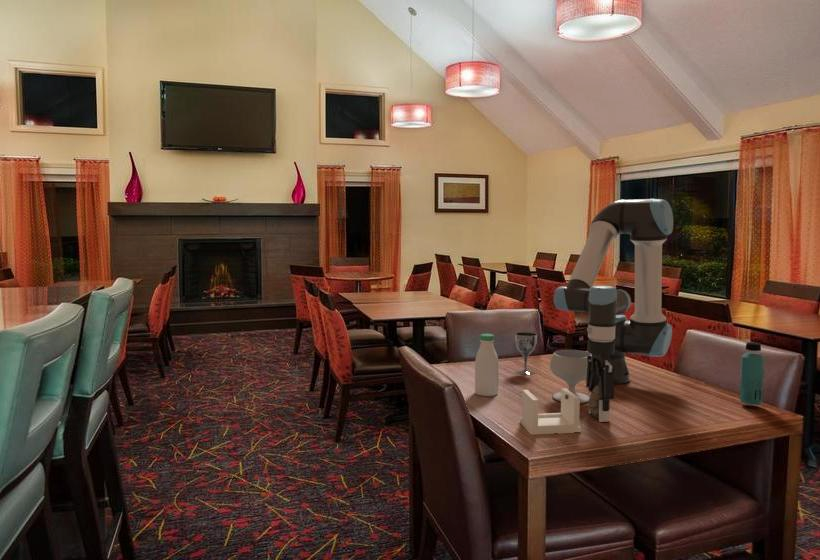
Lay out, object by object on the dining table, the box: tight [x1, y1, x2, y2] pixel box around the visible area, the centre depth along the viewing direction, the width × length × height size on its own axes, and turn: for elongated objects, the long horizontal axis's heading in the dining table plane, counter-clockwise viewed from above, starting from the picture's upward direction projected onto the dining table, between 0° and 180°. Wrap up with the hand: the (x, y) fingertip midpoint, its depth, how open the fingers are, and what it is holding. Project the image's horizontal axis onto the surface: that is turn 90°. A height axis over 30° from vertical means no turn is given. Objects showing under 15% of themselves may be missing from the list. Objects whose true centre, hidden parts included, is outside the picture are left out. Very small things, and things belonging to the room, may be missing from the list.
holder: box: [519, 387, 582, 436], centre depth 166 cm, size 14×10×10 cm
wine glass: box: [514, 331, 538, 376], centre depth 225 cm, size 8×8×15 cm
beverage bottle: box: [738, 341, 765, 406], centre depth 183 cm, size 6×7×20 cm
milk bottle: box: [474, 333, 499, 397], centre depth 198 cm, size 8×8×20 cm
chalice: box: [549, 349, 591, 404], centre depth 192 cm, size 14×14×15 cm
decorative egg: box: [588, 383, 611, 419], centre depth 174 cm, size 6×6×10 cm
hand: (598, 417), depth 174 cm, fingers open, 6 cm apart
